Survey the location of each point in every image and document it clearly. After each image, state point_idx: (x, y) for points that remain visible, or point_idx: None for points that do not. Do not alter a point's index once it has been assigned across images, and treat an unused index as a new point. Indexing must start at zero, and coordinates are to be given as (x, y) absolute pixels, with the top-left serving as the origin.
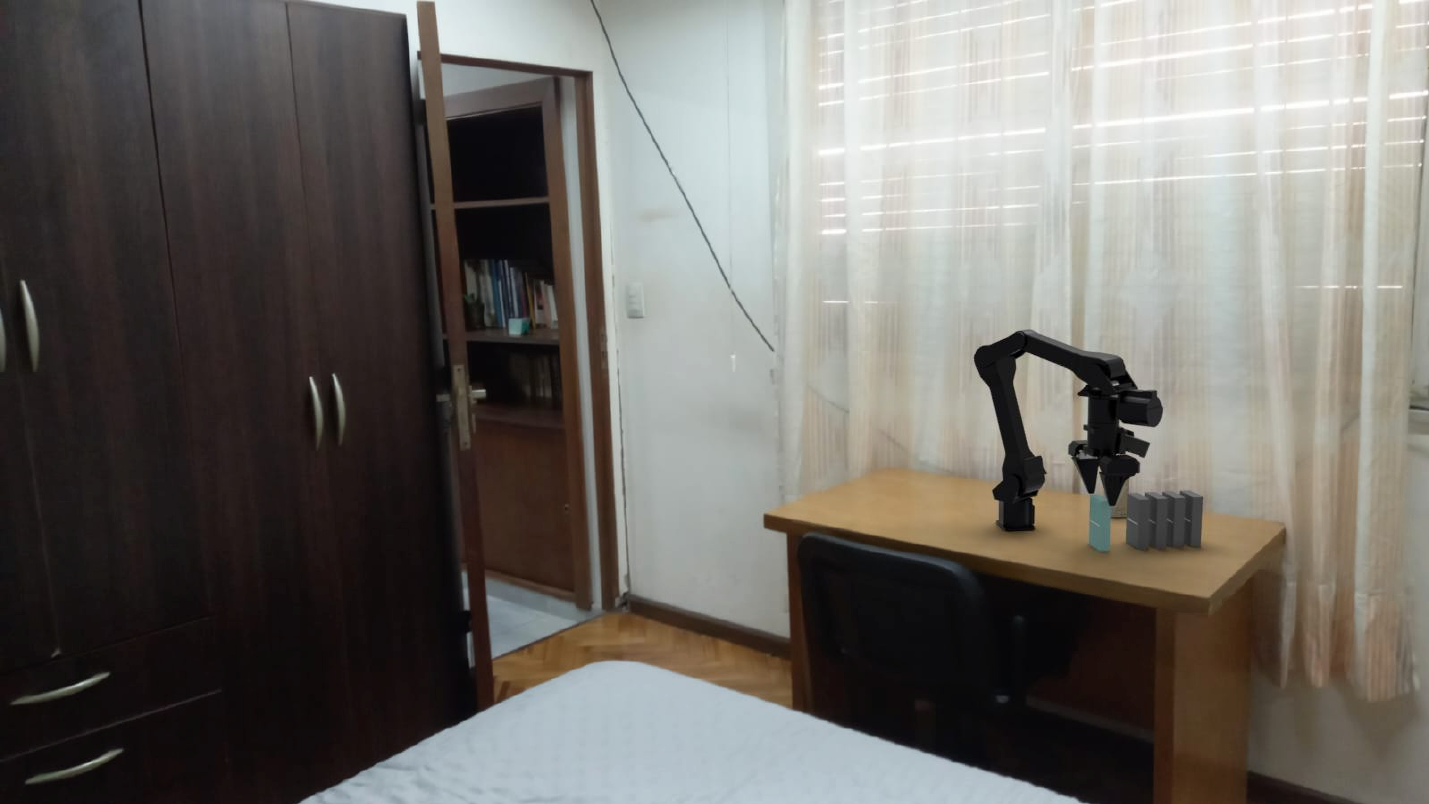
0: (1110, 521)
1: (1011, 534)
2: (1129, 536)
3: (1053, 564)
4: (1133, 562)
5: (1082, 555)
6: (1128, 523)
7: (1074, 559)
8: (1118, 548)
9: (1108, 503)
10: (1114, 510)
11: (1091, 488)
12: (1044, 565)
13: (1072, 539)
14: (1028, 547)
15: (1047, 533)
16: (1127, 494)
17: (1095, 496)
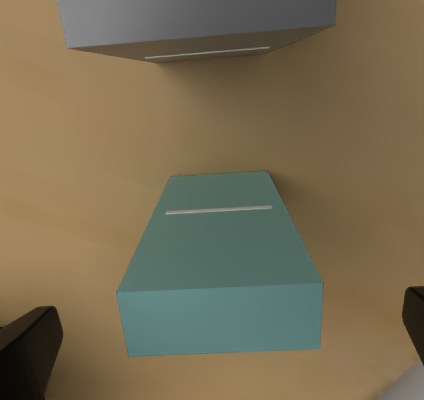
0: (290, 217)
1: (72, 393)
2: (184, 59)
3: (361, 366)
4: (407, 134)
5: None
6: (160, 57)
7: (331, 304)
8: (238, 126)
9: (414, 337)
10: None
11: (41, 354)
12: (364, 387)
13: (122, 248)
14: (201, 384)
15: (54, 302)
16: (76, 49)
17: (173, 339)
